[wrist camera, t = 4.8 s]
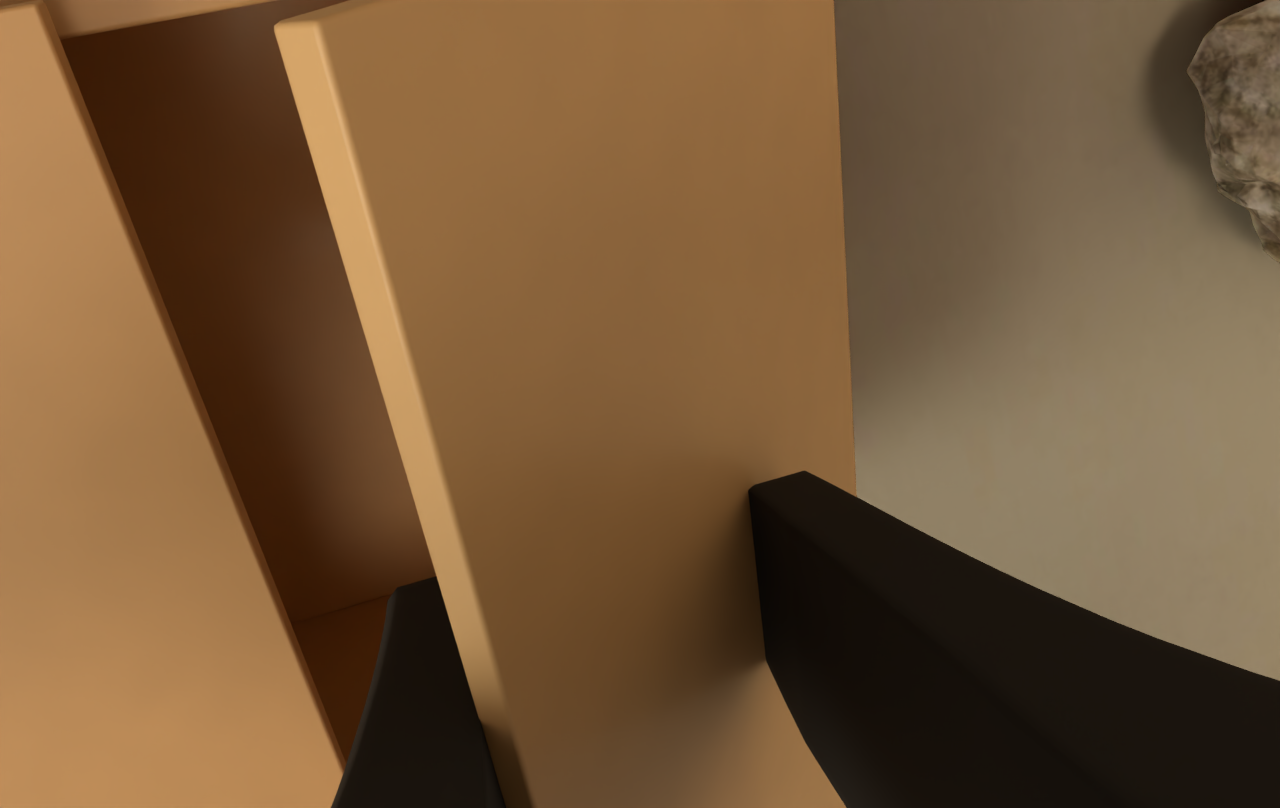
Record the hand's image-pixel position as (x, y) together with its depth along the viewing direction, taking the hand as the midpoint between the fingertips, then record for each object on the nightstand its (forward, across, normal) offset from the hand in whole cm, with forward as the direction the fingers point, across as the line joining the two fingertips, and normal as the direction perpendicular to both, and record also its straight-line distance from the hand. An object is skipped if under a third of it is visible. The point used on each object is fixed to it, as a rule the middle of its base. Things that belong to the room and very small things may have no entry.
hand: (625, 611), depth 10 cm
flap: (0, -1, 0) cm, 1 cm away
